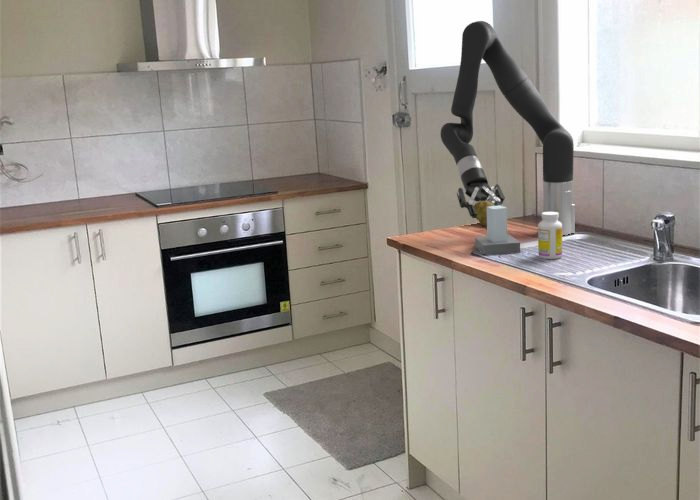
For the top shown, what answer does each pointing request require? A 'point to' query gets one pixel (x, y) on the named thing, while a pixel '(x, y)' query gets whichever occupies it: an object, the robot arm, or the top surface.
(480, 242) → the block
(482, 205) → the potato
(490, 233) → the block
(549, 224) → the supplement bottle
